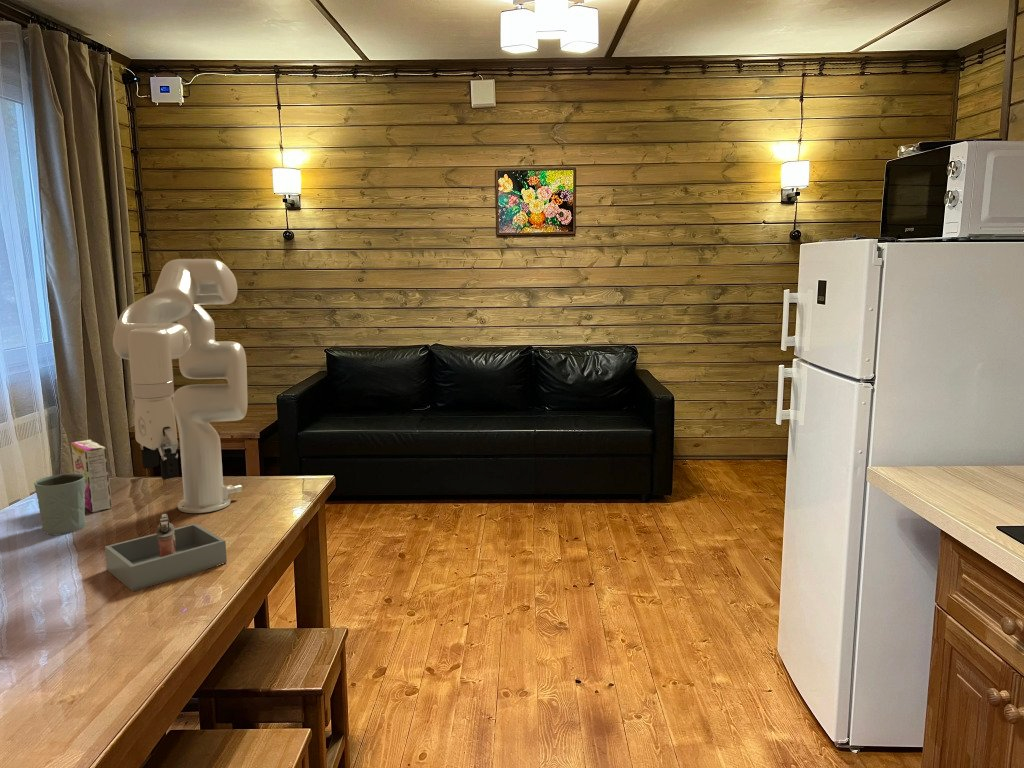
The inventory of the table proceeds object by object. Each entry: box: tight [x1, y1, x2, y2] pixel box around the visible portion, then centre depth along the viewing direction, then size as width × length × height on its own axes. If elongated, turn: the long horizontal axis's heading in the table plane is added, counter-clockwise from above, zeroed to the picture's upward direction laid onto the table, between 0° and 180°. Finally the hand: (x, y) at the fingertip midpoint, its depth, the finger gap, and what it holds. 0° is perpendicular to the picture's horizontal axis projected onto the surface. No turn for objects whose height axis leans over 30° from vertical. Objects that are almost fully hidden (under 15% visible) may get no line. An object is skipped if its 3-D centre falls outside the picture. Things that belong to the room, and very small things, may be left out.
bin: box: [104, 523, 228, 592], centre depth 154 cm, size 19×15×5 cm
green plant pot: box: [33, 473, 86, 535], centre depth 175 cm, size 10×10×12 cm
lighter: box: [155, 513, 176, 557], centre depth 153 cm, size 8×3×10 cm, turn 25°
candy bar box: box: [70, 439, 112, 513], centre depth 190 cm, size 11×5×16 cm, turn 47°
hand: (160, 472), depth 151 cm, fingers open, 9 cm apart
